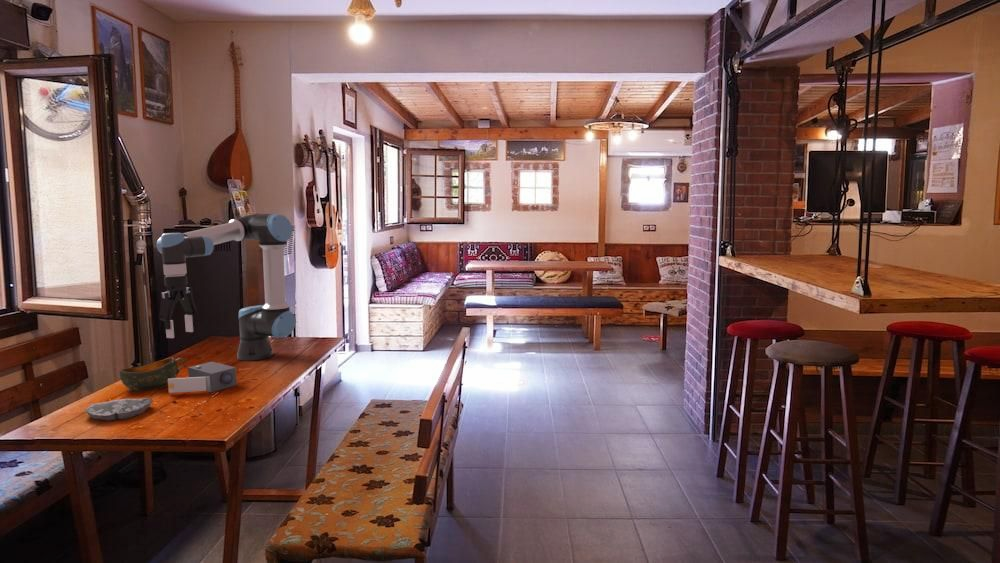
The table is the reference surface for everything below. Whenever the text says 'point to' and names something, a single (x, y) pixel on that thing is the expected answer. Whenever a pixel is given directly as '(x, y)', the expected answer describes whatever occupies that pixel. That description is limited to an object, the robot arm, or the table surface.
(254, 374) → the table surface
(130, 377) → the cup
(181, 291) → the robot arm
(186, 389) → the door
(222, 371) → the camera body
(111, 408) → the brain slice
